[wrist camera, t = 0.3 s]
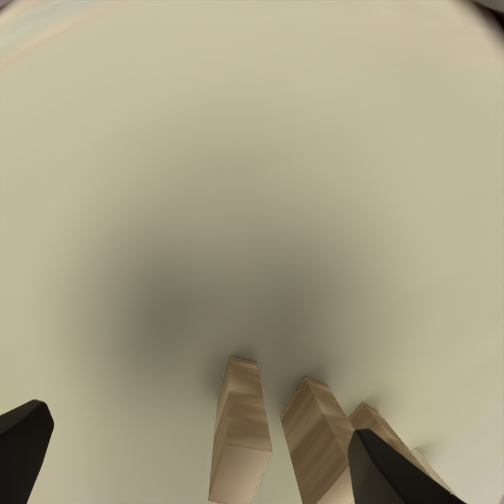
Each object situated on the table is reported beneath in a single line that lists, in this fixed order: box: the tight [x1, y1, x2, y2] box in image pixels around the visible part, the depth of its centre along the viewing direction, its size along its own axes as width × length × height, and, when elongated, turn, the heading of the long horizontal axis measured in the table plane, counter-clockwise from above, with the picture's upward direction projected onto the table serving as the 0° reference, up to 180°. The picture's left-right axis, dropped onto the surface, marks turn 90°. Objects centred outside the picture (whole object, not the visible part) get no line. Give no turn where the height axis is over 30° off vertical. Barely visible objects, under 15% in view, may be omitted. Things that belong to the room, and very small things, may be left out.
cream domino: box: [411, 448, 457, 497], centre depth 18 cm, size 2×4×11 cm, turn 124°
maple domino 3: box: [348, 402, 433, 479], centre depth 18 cm, size 2×4×11 cm, turn 143°
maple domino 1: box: [208, 356, 273, 504], centre depth 17 cm, size 2×4×11 cm, turn 165°
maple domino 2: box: [280, 377, 355, 504], centre depth 18 cm, size 2×4×11 cm, turn 154°
